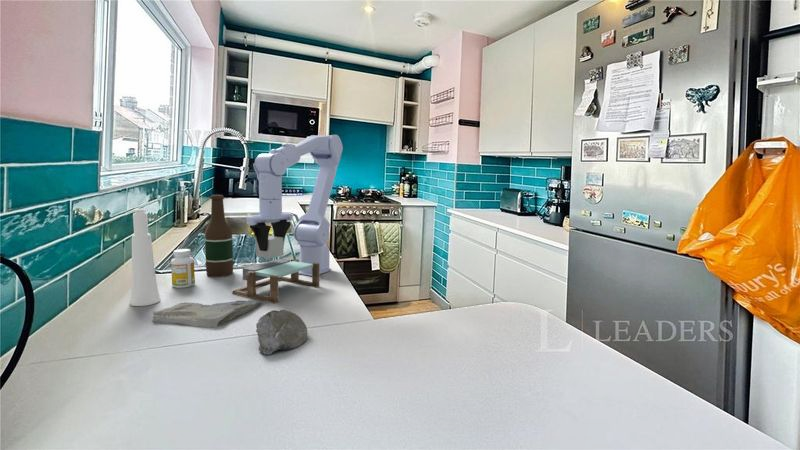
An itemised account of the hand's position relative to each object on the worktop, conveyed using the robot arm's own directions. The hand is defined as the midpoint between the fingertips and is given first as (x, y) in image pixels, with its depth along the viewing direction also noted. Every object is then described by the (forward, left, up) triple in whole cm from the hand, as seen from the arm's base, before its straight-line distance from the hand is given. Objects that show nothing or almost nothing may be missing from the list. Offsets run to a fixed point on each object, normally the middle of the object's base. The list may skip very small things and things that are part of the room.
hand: (271, 248), depth 104 cm
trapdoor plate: (+2, +4, -7) cm, 8 cm away
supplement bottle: (+12, -20, -11) cm, 26 cm away
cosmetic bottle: (+25, -15, -11) cm, 31 cm away
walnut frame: (+2, +4, -10) cm, 11 cm away
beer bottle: (-1, -22, -11) cm, 25 cm away
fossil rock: (+22, +3, -11) cm, 25 cm away
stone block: (0, -1, -2) cm, 2 cm away
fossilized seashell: (+25, +26, -11) cm, 37 cm away
